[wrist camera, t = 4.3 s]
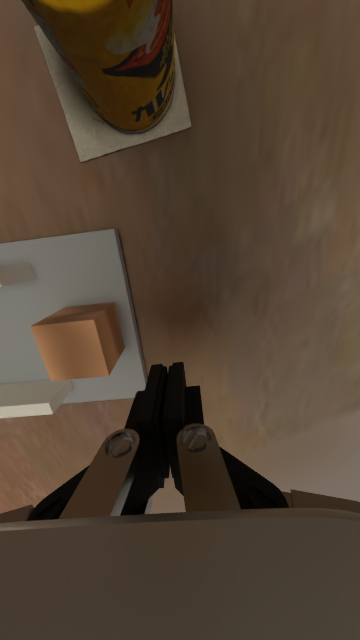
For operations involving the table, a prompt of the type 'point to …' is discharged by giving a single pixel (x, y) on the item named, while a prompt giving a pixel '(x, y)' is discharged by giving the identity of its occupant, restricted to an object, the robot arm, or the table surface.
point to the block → (80, 341)
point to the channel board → (51, 296)
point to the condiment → (113, 70)
